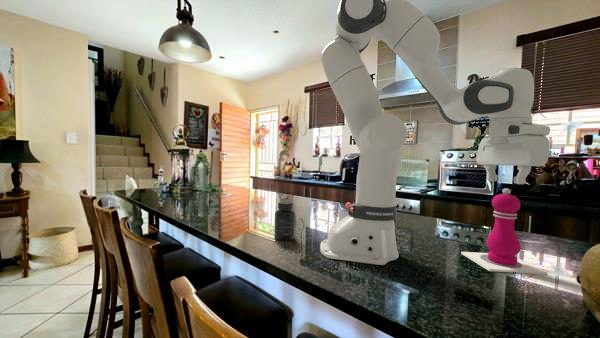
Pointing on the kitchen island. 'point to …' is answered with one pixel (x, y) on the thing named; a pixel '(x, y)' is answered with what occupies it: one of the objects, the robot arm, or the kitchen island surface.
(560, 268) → the kitchen island surface
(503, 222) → the pepper mill
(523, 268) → the white coaster
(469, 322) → the kitchen island surface
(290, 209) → the supplement bottle
